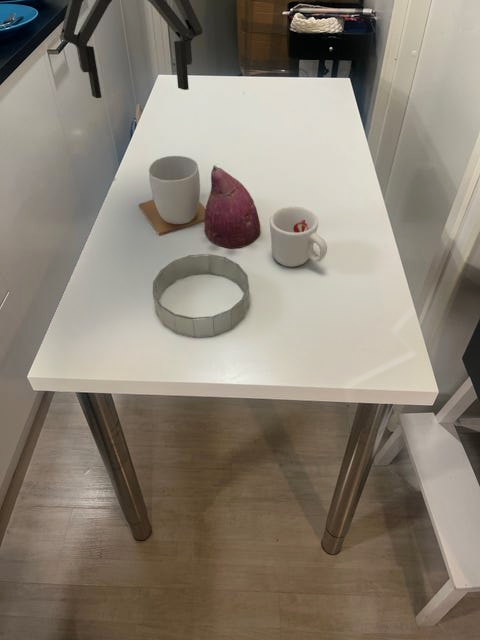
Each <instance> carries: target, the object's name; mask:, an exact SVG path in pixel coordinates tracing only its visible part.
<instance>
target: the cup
mask: <svg viewBox="0 0 480 640" xmlns="http://www.w3.org/2000/svg"><path fill="white" fill-rule="evenodd" d="M318 227H319V219H318V217H317V215H316V214H315V213H314V212H313V211H312V210H310V209H308V208H305V207H301V206H296V205H293V206H292V205H291V206H284V207H280V208H278V209H276V210H275V211H273V213H272V214H271V215H270V218H269V229H270V243H271V253H272V256H273V258H274V260H275V261H276V262H277V263H279V264H280V265H282V266H286V267H298V266H301V265H303V264H306V262H307V261H308V260H310V261H313V262H316V263H317V262H321V261H323V260H324V259H325V257H326V256H327V253H328V245H327V241H325V239H324V238H323V237H322V236H320V235H319V234H318V233H317V230H318ZM314 244H316V245H317V246H318V248H319V254H317V253H316V252H315V250H314Z"/></svg>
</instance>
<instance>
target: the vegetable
mask: <svg viewBox="0 0 480 640" xmlns="http://www.w3.org/2000/svg"><path fill="white" fill-rule="evenodd" d="M210 180H211V181H210V182H211V187H210V192H209V196H208V198H207V201H206V205H205V217H204V222H203V224H204V234H205V236H206V237H207V239H208V240H209V241H210V242H211V243H212V244H214V245H217V246H220V247H223V248H226V249H236V248H242V247H245V246H249V245H251V244H252V243H254V242H255V241H256V240H257V239H258V237H259V236H260V234H261V221H260V217H259V213H258V210H257V207H256V204H255V202H254V199H253V196H252V195H251V194H250V192H249V191H248V190H247V188H246V187H245V185H243V183H242V182H241V181H239V180H238V179H236V178H235V177H234V176H233V175H231V174H229V173H228V172H226V170H224V169H223V168H221V167H218V166H216V164H213V166H212V169H211V173H210Z"/></svg>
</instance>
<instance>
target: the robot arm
mask: <svg viewBox="0 0 480 640" xmlns="http://www.w3.org/2000/svg"><path fill="white" fill-rule="evenodd" d="M112 1H113V0H95V2H94V3H93V5H92V7H91V8H90V11H89V12H88V14H87V16H86V18H85V19H84V22H83V23H82V25H81V26H80V29H79V31H78V32H77V34H76V33H75V32H76V28H77V25H78V20H79V17H80V12H81V10H82V5H83V0H68V4H67V8H66V12H65V16H64V19H63V24H62V28H61V32H60V38H61V40H62V41H64V42H66V43H68V44H69V43H70V44H72V45H74V46H75V48H76V52H77V57H78V63H79V68H80V70H81V72H82V73H87V74H88V78H89V85H90V90H91V96H92V97H94V98H95V99H102V92H101V86H100V78H99V74H98V67H97V61H96V55H95V49H94V46H91V45H88V43H89V42H90V40H91V38H92V36H93V34H94V32H95V30H96V29H97V27H98V26H99V23H100V22H101V20H102V18H103V17H104V15H105V12H106V11H107V9H108V7H109V5H110V4H111V3H112ZM173 1H174V3H175V5H176V7H177V9H178V11H179V14H180V15H181V17H182V20H183V21H182V20H181V18H179V16H178V15H177V14H176V12H175V11H174V10H173V9H172V7H171V6H170V5H169V3H168V2H167V1H166V0H147V2H148V3H150V4H151V5H152V6H153V8H154V9H155V10H156V12H157V13H158V14H159V15H160V16H161V18H162V19H163V20H164V22H165V23H166V24H167V25H168V26H169V28H170V29H171V30H172V32H173V33H174V35H176V36H177V37H178V39H179V40H174V41H173V44H174V55H175V57H174V58H175V67H176V69H175V70H176V79H177V80H176V81H177V89H179V90H183V91H188V90H189V89H190V87H189V74H188V65H192V62H193V53H192V41H193V40H194V38H196V37H197V36H201V35H202V34H203V28H202V25H201V22H200V21H199V19H198V17H197V15H196V12H195V11H194V8H193V6H192V4H191V2H190V0H173ZM183 22H184V23H183Z"/></svg>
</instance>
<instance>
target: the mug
mask: <svg viewBox="0 0 480 640" xmlns="http://www.w3.org/2000/svg"><path fill="white" fill-rule="evenodd" d="M148 179H149V186H150V191H151V195H152V200H154V202H155V205H156V208H157V210H158V212H159V214H160V216H161V217H162V218H163V220H164V221H166V222H168V223H171V224H184V223H188V222H190V221H191V220H192V219H194V217H195V216H196V214H197V211H198V206H199V202H200V200H201V197H200V196H201V181H200V179H201V178H200V169H199V164H198V163H197V161H196V160H194V159H193V158H191V157H188V156H183V155H168V156H164V157H160V158H158V159H156V160H154V161H153V162H152V163H151V164H150V165H149V167H148Z"/></svg>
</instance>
